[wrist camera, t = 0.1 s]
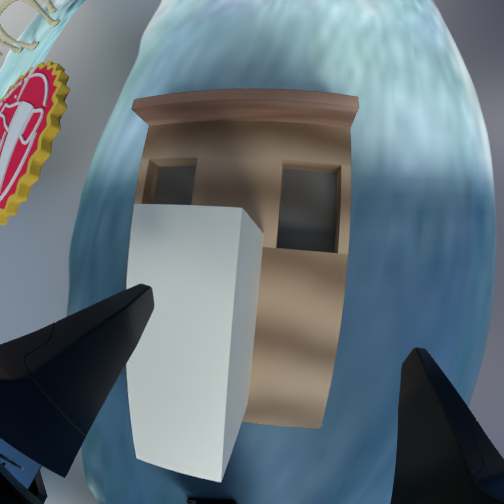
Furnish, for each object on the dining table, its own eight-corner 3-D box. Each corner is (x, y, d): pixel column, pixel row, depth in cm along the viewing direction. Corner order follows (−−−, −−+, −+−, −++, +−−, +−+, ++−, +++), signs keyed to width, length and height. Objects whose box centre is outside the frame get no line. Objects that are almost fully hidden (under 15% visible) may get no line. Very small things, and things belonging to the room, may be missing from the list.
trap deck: (318, 414, 22) (324, 451, 16) (139, 384, 24) (108, 408, 19) (344, 130, 23) (357, 96, 17) (161, 127, 25) (134, 99, 19)
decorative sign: (12, 248, 25) (-42, 210, 29) (26, 249, 28) (-33, 212, 32) (91, 44, 25) (8, 74, 29) (100, 54, 28) (15, 79, 32)
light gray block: (247, 403, 21) (221, 482, 11) (190, 393, 21) (136, 458, 11) (263, 233, 21) (242, 207, 11) (200, 229, 22) (134, 203, 12)
